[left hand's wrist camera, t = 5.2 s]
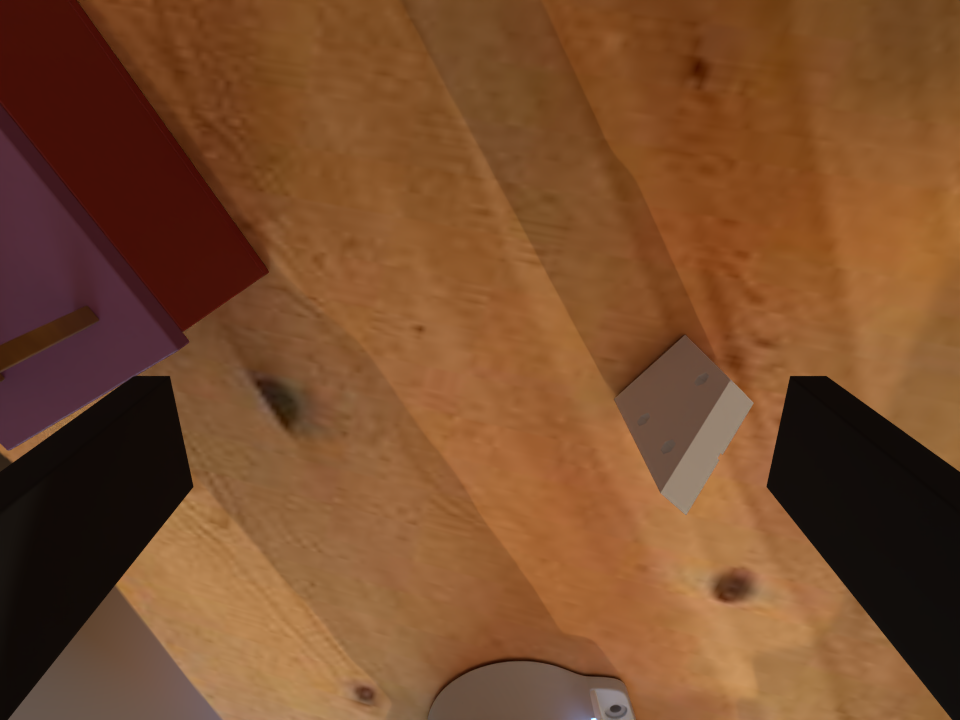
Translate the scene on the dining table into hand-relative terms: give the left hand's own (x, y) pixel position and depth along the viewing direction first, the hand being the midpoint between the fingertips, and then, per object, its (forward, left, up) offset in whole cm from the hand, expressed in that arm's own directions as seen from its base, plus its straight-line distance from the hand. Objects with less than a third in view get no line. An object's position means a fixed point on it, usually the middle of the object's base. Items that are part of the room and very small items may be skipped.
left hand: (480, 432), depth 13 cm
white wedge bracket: (+8, +12, -22) cm, 26 cm away
